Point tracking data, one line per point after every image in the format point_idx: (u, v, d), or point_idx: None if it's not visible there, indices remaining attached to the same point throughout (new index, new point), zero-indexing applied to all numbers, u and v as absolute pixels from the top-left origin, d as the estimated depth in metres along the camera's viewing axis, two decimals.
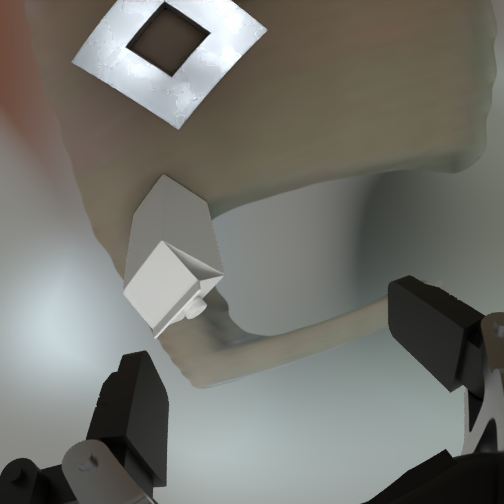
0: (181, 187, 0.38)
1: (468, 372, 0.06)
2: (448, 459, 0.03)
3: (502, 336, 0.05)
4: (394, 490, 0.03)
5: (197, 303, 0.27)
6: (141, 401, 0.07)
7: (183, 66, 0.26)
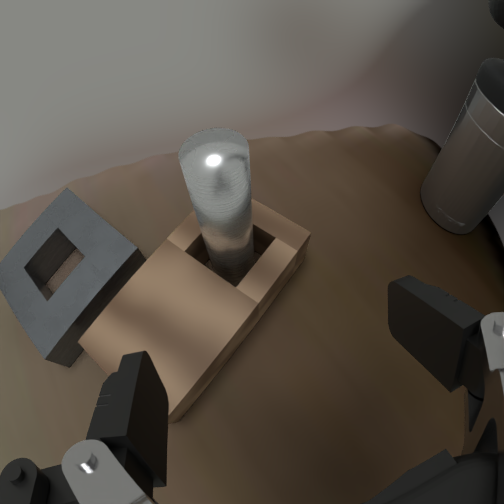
0: None
1: (468, 373, 0.06)
2: (448, 459, 0.03)
3: (502, 336, 0.05)
4: (393, 490, 0.03)
5: None
6: (141, 401, 0.07)
7: (28, 277, 0.26)
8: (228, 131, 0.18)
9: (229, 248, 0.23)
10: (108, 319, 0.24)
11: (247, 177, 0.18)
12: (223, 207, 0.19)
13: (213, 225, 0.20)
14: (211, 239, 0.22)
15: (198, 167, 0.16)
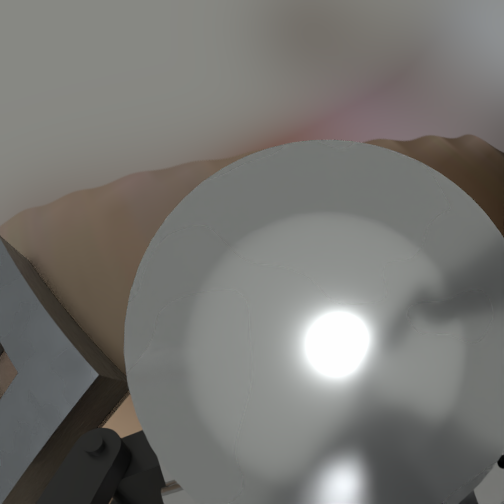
0: None
1: None
2: None
3: None
4: None
5: None
6: None
7: None
8: (408, 170, 0.03)
9: None
10: None
11: None
12: None
13: None
14: None
15: (286, 489, 0.02)
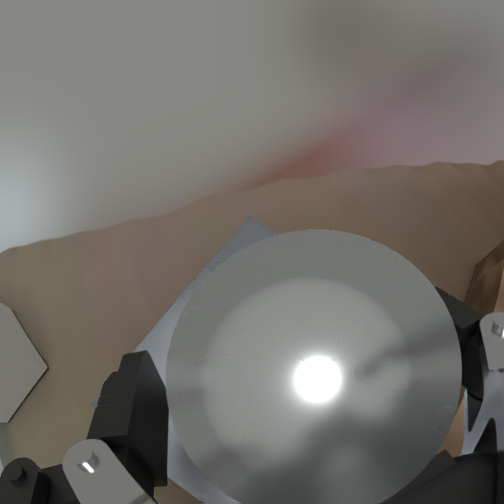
0: (24, 390, 0.17)
1: (467, 373, 0.06)
2: (448, 459, 0.03)
3: (501, 336, 0.05)
4: None
5: None
6: (142, 401, 0.07)
7: None
8: (372, 254, 0.04)
9: None
10: None
11: None
12: None
13: None
14: None
15: (270, 477, 0.03)
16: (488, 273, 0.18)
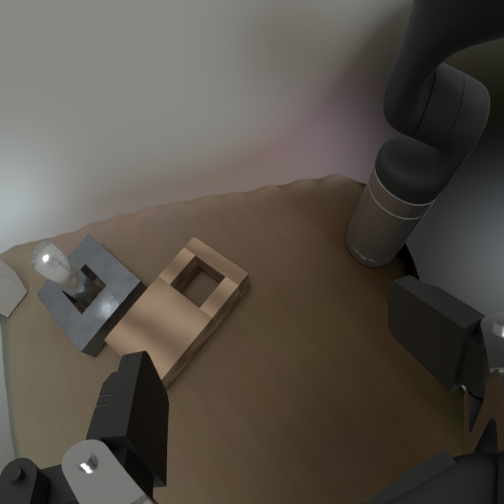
0: (17, 300, 0.46)
1: (468, 373, 0.06)
2: (448, 459, 0.03)
3: (502, 336, 0.05)
4: (394, 490, 0.03)
5: None
6: (141, 401, 0.07)
7: (66, 297, 0.42)
8: (49, 243, 0.33)
9: (70, 293, 0.39)
10: (123, 326, 0.40)
11: (58, 266, 0.34)
12: (52, 278, 0.34)
13: (55, 284, 0.36)
14: (61, 288, 0.38)
15: (35, 264, 0.32)
16: None
